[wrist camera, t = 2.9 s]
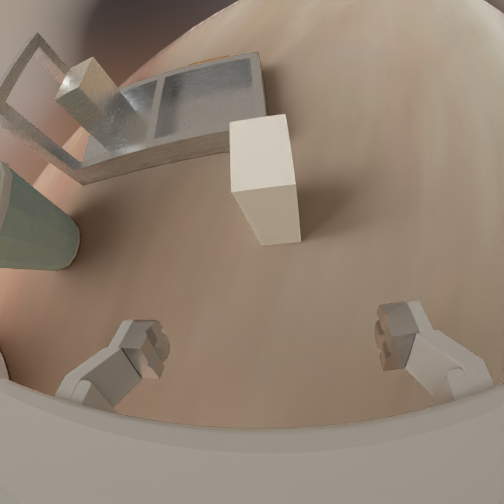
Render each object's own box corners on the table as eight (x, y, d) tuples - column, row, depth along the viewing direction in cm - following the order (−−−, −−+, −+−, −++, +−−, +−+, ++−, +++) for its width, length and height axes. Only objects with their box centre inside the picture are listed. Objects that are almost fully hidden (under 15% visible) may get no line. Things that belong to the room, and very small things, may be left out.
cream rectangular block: (261, 245, 26) (231, 192, 16) (258, 194, 28) (229, 122, 17) (301, 241, 26) (295, 184, 15) (295, 190, 27) (285, 113, 17)
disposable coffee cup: (99, 200, 31) (9, 137, 17) (89, 291, 29) (-24, 260, 14) (45, 212, 33) (-34, 168, 19) (35, 290, 30) (-58, 265, 16)
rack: (83, 185, 32) (-18, 112, 15) (101, 113, 36) (30, 36, 19) (271, 145, 29) (230, -13, 12) (262, 70, 32) (230, -53, 15)
